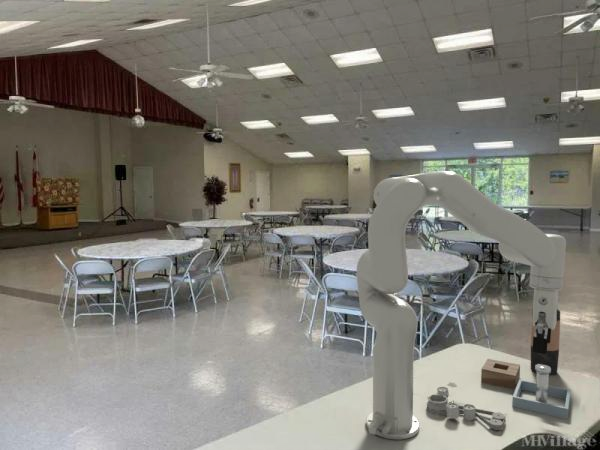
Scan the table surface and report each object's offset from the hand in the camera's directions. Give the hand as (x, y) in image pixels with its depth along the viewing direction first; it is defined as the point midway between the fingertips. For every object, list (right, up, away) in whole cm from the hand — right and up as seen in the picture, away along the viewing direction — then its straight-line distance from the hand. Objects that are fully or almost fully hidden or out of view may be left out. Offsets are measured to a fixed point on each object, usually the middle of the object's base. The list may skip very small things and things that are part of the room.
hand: (541, 347), depth 120 cm
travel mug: (+12, -14, +22) cm, 29 cm away
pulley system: (-22, -17, +2) cm, 28 cm away
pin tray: (+1, -16, +2) cm, 16 cm away
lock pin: (+1, -15, +2) cm, 15 cm away
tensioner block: (-4, -15, +15) cm, 22 cm away
